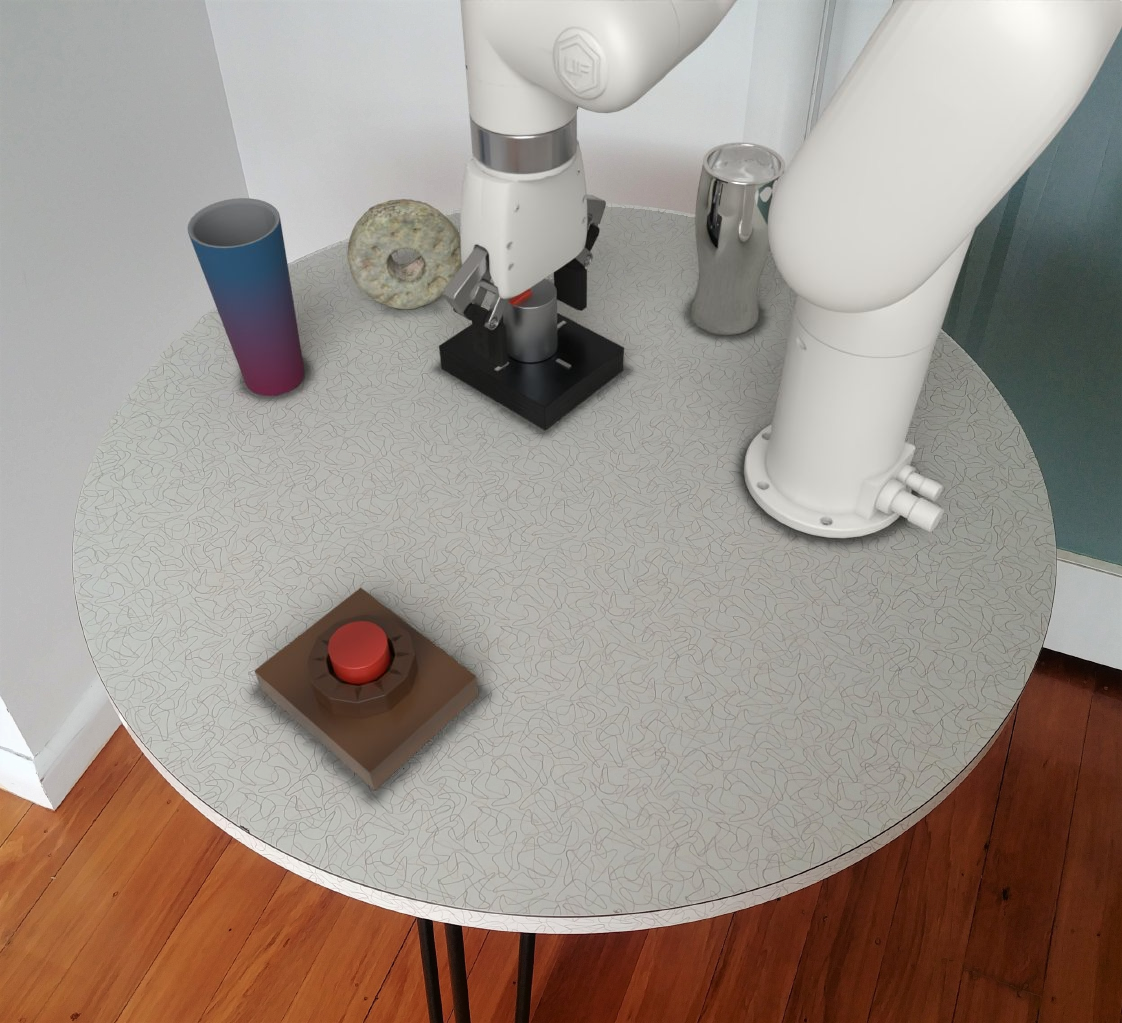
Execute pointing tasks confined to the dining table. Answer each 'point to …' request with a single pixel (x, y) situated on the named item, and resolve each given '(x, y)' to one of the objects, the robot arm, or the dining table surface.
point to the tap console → (539, 372)
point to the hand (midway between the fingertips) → (531, 330)
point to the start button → (359, 652)
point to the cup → (251, 290)
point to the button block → (369, 691)
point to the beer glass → (733, 234)
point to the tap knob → (532, 323)
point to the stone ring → (398, 230)
